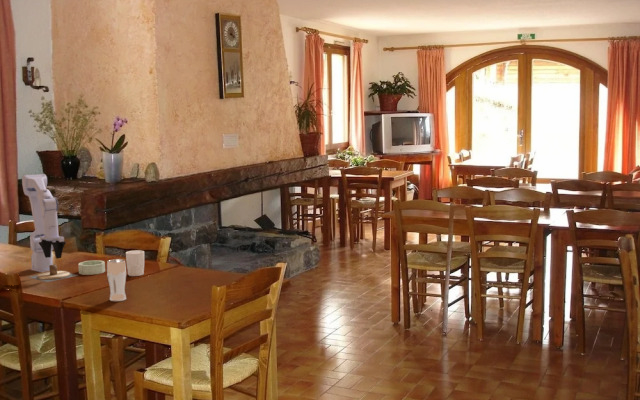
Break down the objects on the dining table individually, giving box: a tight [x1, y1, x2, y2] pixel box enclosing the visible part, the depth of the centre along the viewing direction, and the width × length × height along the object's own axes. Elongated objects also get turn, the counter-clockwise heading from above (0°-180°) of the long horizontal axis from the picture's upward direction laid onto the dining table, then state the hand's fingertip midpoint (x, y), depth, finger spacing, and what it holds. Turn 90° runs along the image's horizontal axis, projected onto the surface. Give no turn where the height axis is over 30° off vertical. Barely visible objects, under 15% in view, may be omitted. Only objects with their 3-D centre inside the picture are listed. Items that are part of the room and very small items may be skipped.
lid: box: [37, 264, 71, 280], centre depth 308 cm, size 13×13×5 cm
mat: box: [28, 272, 80, 283], centre depth 309 cm, size 15×15×1 cm
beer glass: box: [106, 258, 127, 303], centre depth 271 cm, size 7×7×15 cm
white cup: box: [125, 249, 145, 277], centre depth 312 cm, size 8×8×10 cm
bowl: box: [78, 259, 106, 276], centre depth 316 cm, size 11×11×4 cm
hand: (53, 257), depth 307 cm, fingers open, 7 cm apart
